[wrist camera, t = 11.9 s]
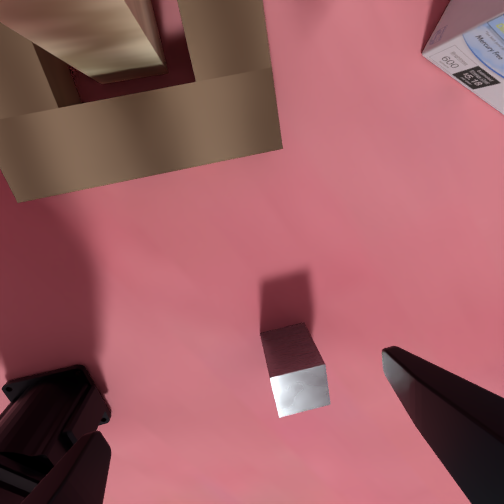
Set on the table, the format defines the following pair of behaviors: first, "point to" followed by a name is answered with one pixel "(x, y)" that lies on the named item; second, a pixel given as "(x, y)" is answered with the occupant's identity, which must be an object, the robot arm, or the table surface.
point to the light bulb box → (472, 47)
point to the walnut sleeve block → (139, 109)
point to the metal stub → (295, 370)
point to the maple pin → (92, 35)
